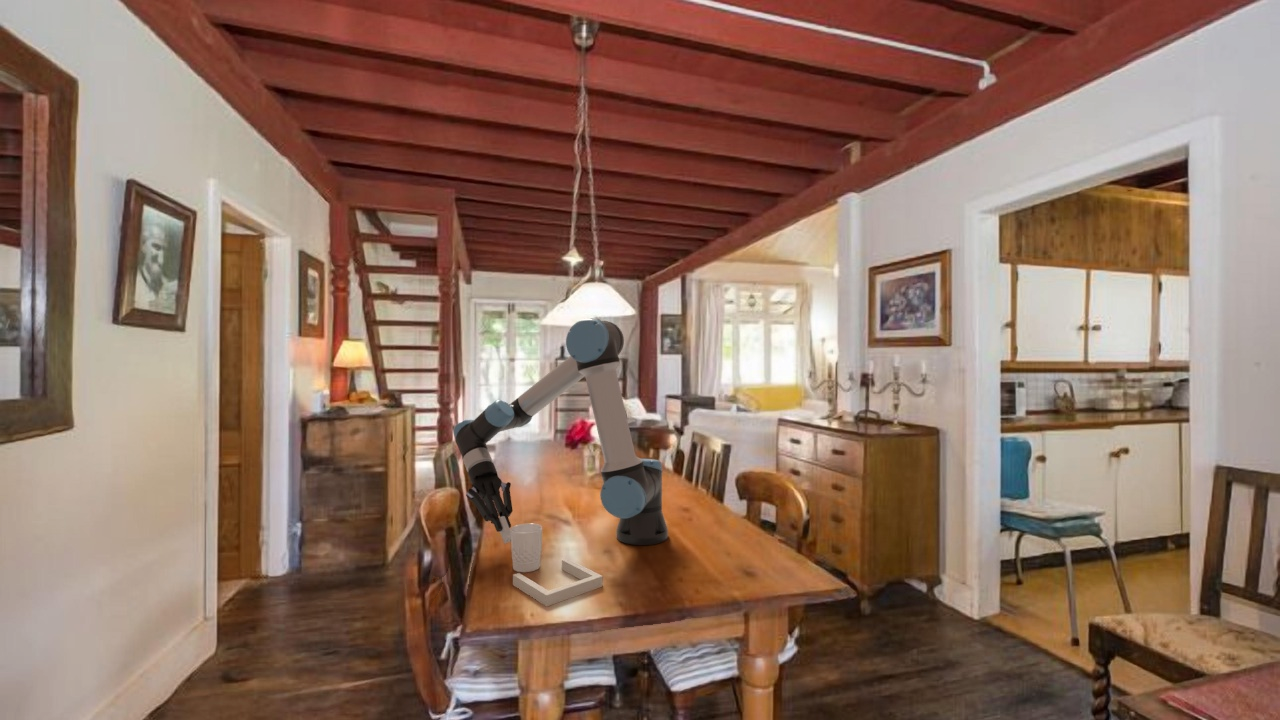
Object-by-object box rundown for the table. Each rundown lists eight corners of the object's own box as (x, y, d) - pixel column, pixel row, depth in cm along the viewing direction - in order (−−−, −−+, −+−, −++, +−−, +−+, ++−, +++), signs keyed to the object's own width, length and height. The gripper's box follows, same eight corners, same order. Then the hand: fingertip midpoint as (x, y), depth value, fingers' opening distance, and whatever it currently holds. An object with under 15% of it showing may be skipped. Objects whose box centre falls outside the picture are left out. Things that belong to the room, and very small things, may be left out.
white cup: (527, 576, 132) (527, 535, 132) (503, 569, 137) (503, 529, 136) (548, 565, 139) (548, 526, 139) (526, 559, 143) (526, 521, 143)
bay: (512, 584, 127) (512, 574, 127) (567, 567, 137) (567, 558, 137) (546, 606, 116) (546, 595, 116) (602, 586, 126) (602, 576, 126)
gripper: (497, 472, 163) (525, 542, 151) (454, 478, 154) (481, 553, 142) (505, 456, 159) (535, 527, 147) (462, 462, 150) (490, 538, 138)
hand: (508, 540), depth 144 cm, fingers closed
